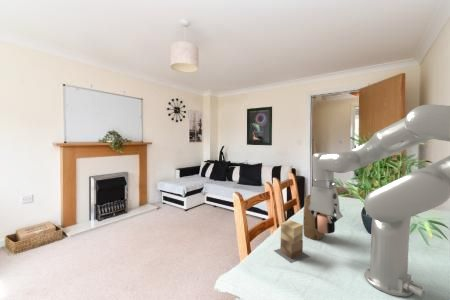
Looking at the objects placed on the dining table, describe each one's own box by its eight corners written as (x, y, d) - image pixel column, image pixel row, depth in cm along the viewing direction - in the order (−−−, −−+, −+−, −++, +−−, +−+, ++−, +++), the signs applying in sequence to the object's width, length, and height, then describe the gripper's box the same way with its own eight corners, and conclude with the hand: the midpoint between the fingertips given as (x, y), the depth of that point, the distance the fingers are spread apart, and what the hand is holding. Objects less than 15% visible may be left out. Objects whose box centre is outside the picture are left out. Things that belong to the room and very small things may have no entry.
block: (316, 242, 96) (317, 198, 95) (301, 236, 101) (302, 195, 101) (327, 236, 102) (328, 194, 102) (313, 230, 108) (314, 191, 107)
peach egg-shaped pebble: (334, 231, 82) (334, 216, 82) (326, 234, 80) (325, 218, 80) (323, 227, 87) (323, 213, 87) (314, 230, 85) (314, 215, 85)
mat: (310, 257, 84) (310, 256, 83) (291, 264, 79) (291, 262, 79) (291, 246, 92) (291, 245, 92) (273, 251, 88) (273, 250, 88)
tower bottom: (302, 255, 84) (302, 240, 84) (291, 258, 82) (291, 243, 81) (291, 248, 90) (291, 234, 89) (280, 251, 87) (280, 237, 87)
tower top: (302, 239, 85) (302, 224, 85) (293, 243, 81) (293, 228, 81) (289, 234, 90) (290, 220, 89) (280, 238, 86) (280, 223, 86)
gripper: (350, 186, 78) (351, 235, 78) (312, 180, 93) (313, 222, 93) (337, 188, 74) (338, 240, 74) (299, 182, 89) (300, 225, 89)
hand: (324, 229), depth 84 cm, fingers closed on peach egg-shaped pebble, 4 cm apart
